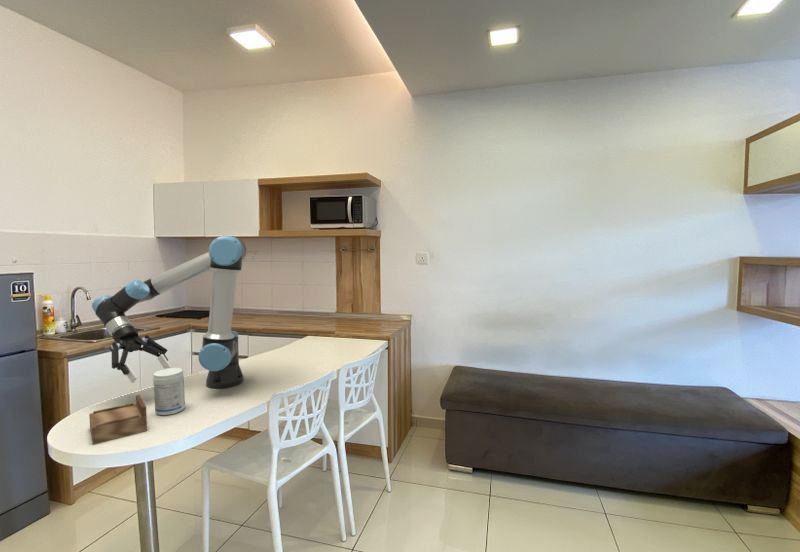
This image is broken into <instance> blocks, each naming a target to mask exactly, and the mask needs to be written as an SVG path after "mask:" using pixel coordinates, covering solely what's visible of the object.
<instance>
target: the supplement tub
mask: <svg viewBox="0 0 800 552" xmlns="http://www.w3.org/2000/svg"><path fill="white" fill-rule="evenodd" d="M152 379H153V380H152V381H153V395H154V399H153V400H154V411H155V414H156V415H159V416H171V415H174V414H178V413H180V412H182V411H183V410H184V409H185V407H186V399H185V397H186V396H185V380H184V379H185V378H184V369H182V368H181V367H171V368H168V369H164V368H163V369H160V370H157V371H155V372H154V373H153V377H152Z"/></svg>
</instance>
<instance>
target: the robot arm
mask: <svg viewBox="0 0 800 552" xmlns="http://www.w3.org/2000/svg"><path fill="white" fill-rule="evenodd" d="M246 255H247V246H246V245H245V243H244V241H243V240H242V239H240V238H239V237H236V236H233V235H224V234H223V235H221V236H218V237H216V238H214V239H213V240H212V241H211V243H210V244H209V247H208V252H205V253H203V254H201V255H199V256H196V257H194V258H193V259H190V260H188V261H186V262H183V263H182V264H179V265H177V266H174V267H173V268H171V269H168V270H166V271H164V272H162V273H160V274H158V275H155V276H153V277H151V278H149V279H147V280H145V281H142V280H140V279H138V278H137V279H133V280H132V281H131V282H129V283H127V284H126V285H125V286H124V287H122V288H121V289H120V290H119V291H118V292H116V293H114V294H113V295H108V294H107V295H102V296H100V297H98V298H96V299H95V300H94V301H93V302H92V304H91V307H92V310H93V312H94V313H95V316H96V317H98V319H99V320H100V322H101V323H102V324H103V326H104V327H105V329H106V331H107V332H108V334H109V335H110V336H111V338H112V339H113V341H114V342H112V344H111V345H110V346H109V350H110V352H111V369H113V370H114V369H117V370H118V371H121V372H122V374H123V375H124V376H126V377H127V378H128V379H129V381H130V382H131V384H132V383H133V384H134V383H135V381H136V380H137V379H138V376H137V374H136V373H135V371H134V370H133V369H132V367H131V365H129V363H126V361H127V358H128V355H129V353H133V352H137V351H140V352H145V353H147V354H150V355H152V356H155V357H157V361H158V362H159V363H160V365H161V366H162V367H163V369H168V368H173V367H172V365H171V364H170V362H169V358H167V356H166V354H167V352H168V349H167V348H166V347H164V346H162V345H161V344H159V343H158V342H156V341H155V340H153V339H152V338H151V337H150V336H149V335H147V334H146V335H145V336H144V337H141V336H139V332H138V330H137V329H136V328H135V326H134V325H133V323H132V322H131V321H130V320H129V318H128V317H127V316H126V312H128V311H129V310H130V309H132V308H133V307H135V306H136V305H137V304H139V303H143V302H145V301H151V300H152V299H154V298H156V297H159V296H160V295H161V294H164V293H166V292H168V291H170V290H172V289H175V288H176V287H179V286H181V285H183V284H185V283H187V282H189V281H191V280H194V279H196V278H198V277H201V276H202V275H205V274H207V273H209V272H211V271H212V273H213V274H212V275H213V276H212V286H211V295H210V296H211V298H210V305H209V317H208V329H207V332H205V333H204V334H203V337H202V343H201V344H202V345H201V349H200V351H199V353H198V362H199V364H200V366H201V367H202V368H204V369H205V370H207V371H208V373H207V377H206V380H205V384H206V385H205V386H206V387H208V388H210V389H225V388H232V387H235V386H238V385H240V384H242V383H243V382H244V374H243V371H242V369H241V366H240V360H239V359H240V358H239V354H240V353H239V333H238V331H236V330H232V325H233V314H234V304H235V296H236V295H235V294H236V284H237V276H238V274H239V273H240V272H242V267H243V259H245V256H246ZM119 349H122V352H121V357H120V356H119ZM119 357H120V358H119Z"/></svg>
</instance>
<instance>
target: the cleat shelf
mask: <svg viewBox="0 0 800 552" xmlns="http://www.w3.org/2000/svg"><path fill="white" fill-rule="evenodd" d="M88 416H89V429H90V435H91V443H92V445H97V444H99V443H104V442H107V441H112V440H115V439H120V438H124V437H129V436H132V435H135V434H140V433H144V432H147V431H148V421H147V419H148V418H147V417H148V416H147V405H146V404H145V402H144V400H143V398H142V397H141V394H136V395H135V403H133V402H131V403H127V404H121V405H116V406H113V407H108V408H104V409H103V408H101V409H98V410H93V411H92V412H90V413H89V415H88Z"/></svg>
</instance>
